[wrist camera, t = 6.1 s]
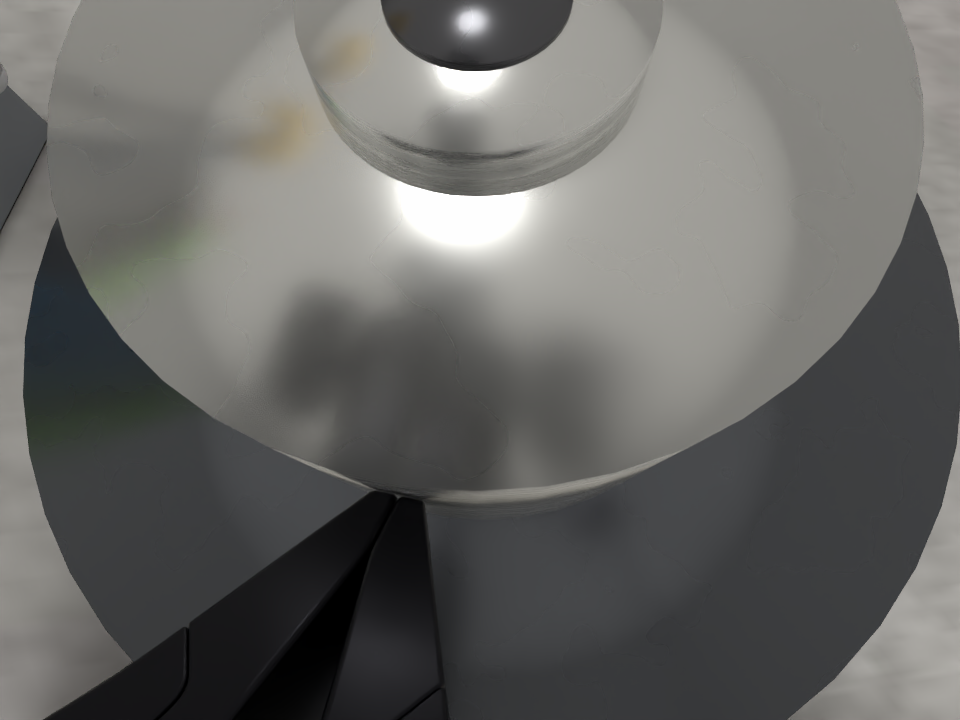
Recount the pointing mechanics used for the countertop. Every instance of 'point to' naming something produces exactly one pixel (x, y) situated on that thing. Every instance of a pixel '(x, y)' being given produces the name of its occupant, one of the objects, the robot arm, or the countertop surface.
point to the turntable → (541, 520)
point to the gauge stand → (16, 143)
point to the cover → (483, 220)
